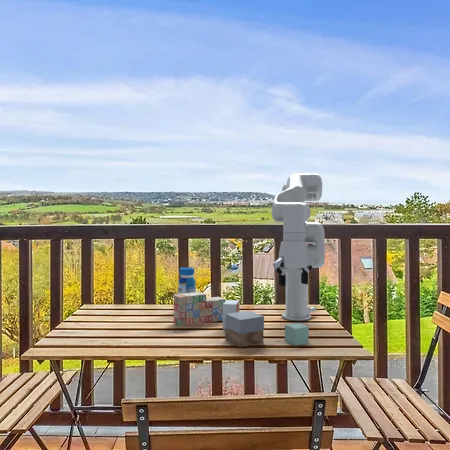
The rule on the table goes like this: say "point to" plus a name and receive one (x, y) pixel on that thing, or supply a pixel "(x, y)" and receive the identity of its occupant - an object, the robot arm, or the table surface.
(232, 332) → the walnut block
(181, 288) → the beverage bottle
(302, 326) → the green cube
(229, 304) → the small box
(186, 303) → the stack of blocks
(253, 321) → the grey block
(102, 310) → the table surface
